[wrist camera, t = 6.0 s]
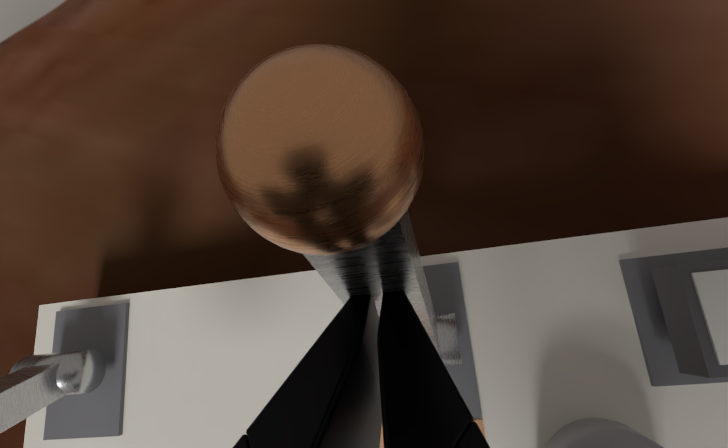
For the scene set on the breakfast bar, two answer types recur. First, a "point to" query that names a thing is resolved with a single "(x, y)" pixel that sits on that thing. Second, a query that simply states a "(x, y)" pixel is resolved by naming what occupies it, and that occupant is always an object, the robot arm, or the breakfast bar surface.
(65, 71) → the breakfast bar surface
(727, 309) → the block
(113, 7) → the breakfast bar surface
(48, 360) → the lever
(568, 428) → the push button
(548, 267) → the control panel
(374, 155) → the copper ball joystick
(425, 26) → the breakfast bar surface
